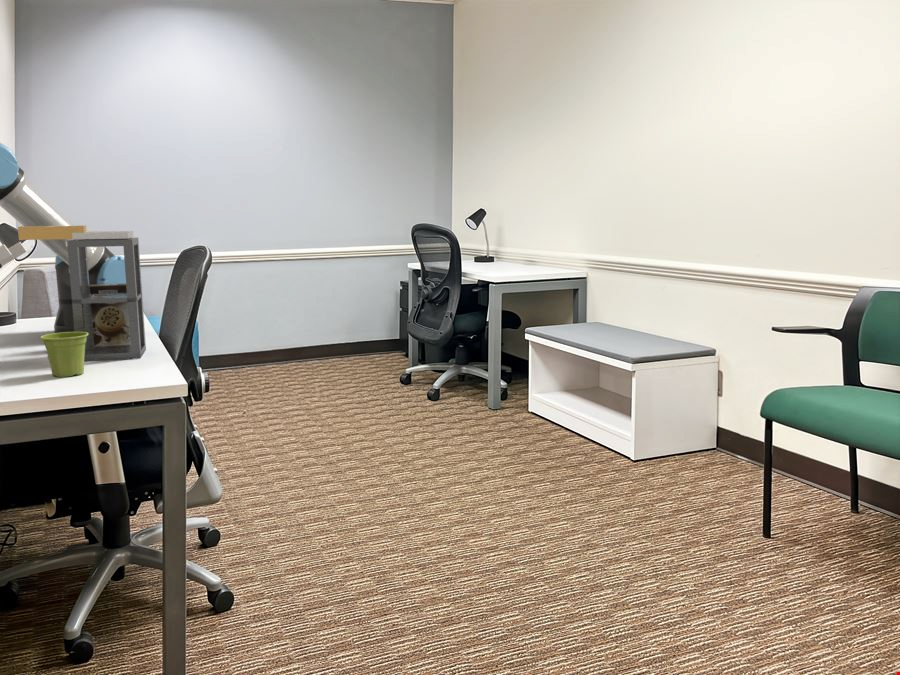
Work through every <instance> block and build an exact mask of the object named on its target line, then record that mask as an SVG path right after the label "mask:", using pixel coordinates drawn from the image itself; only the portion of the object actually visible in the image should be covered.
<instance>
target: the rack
mask: <svg viewBox="0 0 900 675" xmlns="http://www.w3.org/2000/svg"><path fill="white" fill-rule="evenodd" d="M139 244H140V242H139V237H132V238H128V239H75V240H68V241H66V247H68V259H69V271H70V283H71V295H72V307H73V320H74V332H87V333H88V336H87V339H86V343H85V356H84V362H93V361H95V362H97V361H108V360H111V361H113V360H114V361H116V360H131V359H130V358H136V359H141V358H142V357H143V355H144V354H145V352H146V350H147V346H146V331H145V317H144V316H145V314H144V301H143V300H144V299H143V287H142V273H141V272H142V271H141V259H140V245H139ZM87 247H106V248H107V247H123V257H124V260H125V274H126V288H127V293H106V294H90V285H89V273H88V260H87ZM113 302H128V316H129V330H130V344H131V345H113V346H94V336H93V323H92V311H91V303H113ZM128 358H129V359H128ZM115 359H116V360H115Z"/></svg>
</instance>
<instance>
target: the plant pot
mask: <svg viewBox="0 0 900 675" xmlns="http://www.w3.org/2000/svg"><path fill="white" fill-rule="evenodd" d="M87 336H88V333H87V332H62V333H55V332H54V333H47V334H44V335H41V336H40V337H39V338H40V339H41V341H42V342H43V346H45V351H46V354H47V357H48V361H49V366H50V370H51V374H52V376H53V377H58V378H64V377H65V378H67V377H73V376H75V375H79V376H80V375H82V374H84V371H85V361H84V356H85V343H86V339H87Z"/></svg>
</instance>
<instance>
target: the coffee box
mask: <svg viewBox="0 0 900 675" xmlns="http://www.w3.org/2000/svg"><path fill="white" fill-rule="evenodd" d="M106 293H127V288H126V284H93V285H90V294H106ZM91 311H92V323H93V336H94V346H113V345H131V344H130V330H129V316H128V302H113V303H91Z"/></svg>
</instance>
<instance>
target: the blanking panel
mask: <svg viewBox="0 0 900 675" xmlns="http://www.w3.org/2000/svg"><path fill="white" fill-rule="evenodd" d="M17 235H18V240H19V241H33V240H35V241H37V240H38V241H40V240H49V239H73V240H75V239H128V238H134V230H108V231H107V230H105V231H103V230H101V231H95V230H94V231H87V225H74V226H23V225H22V226H17Z"/></svg>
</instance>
